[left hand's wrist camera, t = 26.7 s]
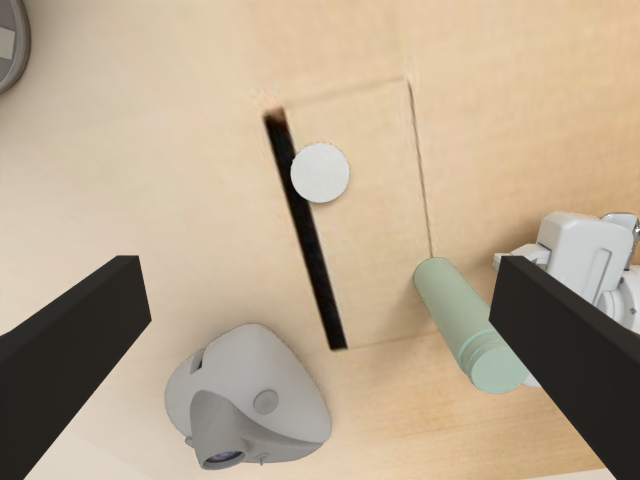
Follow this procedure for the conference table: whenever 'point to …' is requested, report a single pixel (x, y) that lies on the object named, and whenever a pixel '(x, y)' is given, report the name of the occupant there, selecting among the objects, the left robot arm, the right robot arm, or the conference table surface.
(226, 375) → the projector
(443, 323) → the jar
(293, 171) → the lid
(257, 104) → the conference table surface
